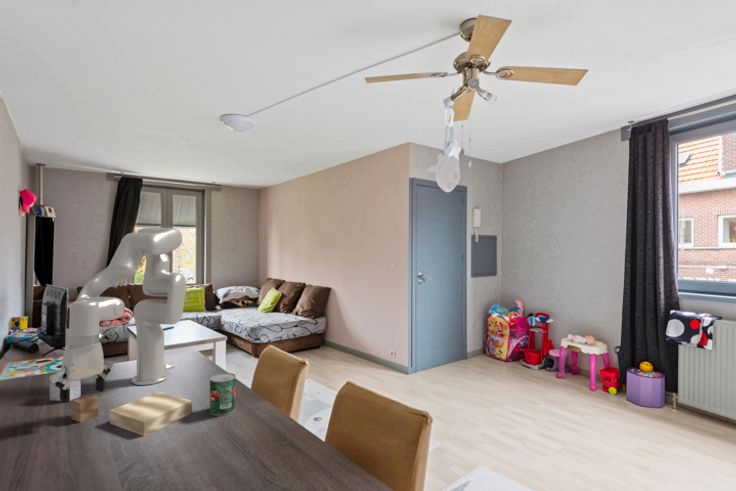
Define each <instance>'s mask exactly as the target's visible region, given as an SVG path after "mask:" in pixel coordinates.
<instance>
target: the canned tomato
mask: <svg viewBox="0 0 736 491" xmlns="http://www.w3.org/2000/svg"><path fill="white" fill-rule="evenodd" d="M236 380H237V379H236V374H235V373H231V372H223V373H217V374H214V375H211V377H209V414H210V415H212V416H215V417H221V416H222V417H223V416H226V415H230V414H232V413H233V412H235V410H236V389H237V388H236V382H237V381H236Z"/></svg>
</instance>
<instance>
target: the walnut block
mask: <svg viewBox="0 0 736 491" xmlns="http://www.w3.org/2000/svg"><path fill="white" fill-rule="evenodd" d="M96 417H99V396H96V395H93V394H90V393H88V394H86V395H85V394H84V395H81V396H80V397H79V398H76V399H73V400H71V401H70V419H71V420H73V421H75V422H78V423H83V422H86V421H89V420H91V419H94V418H96Z"/></svg>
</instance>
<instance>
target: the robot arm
mask: <svg viewBox="0 0 736 491" xmlns="http://www.w3.org/2000/svg"><path fill="white" fill-rule="evenodd" d="M182 243H183V234H182V232H181V231H180V230H179V229H177V228H176V227H144V228H143V227H142V228H140V229H138V230H137V231H136V232H130V233H127V234H126V235H124V236H123V237H122V238H121V241H120V243H119V244H118V247H117V249H116V250H115V253H114V255H113V257H112V258H111V260H110V263H109V265H108V266H107V267H106V268H104V269H103V270H101V271H100V272H98V273H96V275H94V276H93V277H92V278H91V279H89V280H88V281H87V282H86V283H85V284H84V286H83V287H82V289H81V290H80V292H79V294H78V296H77V298H76V300H75V301H73V302H71V303H70V306H69V323H68V324H69V325H68V326H69V327H68V330H69V333H68V346H66V347H65V349H64V352H63V356H62V361H61V367H60V369H59V370H58V371H56V372H55V373H54V374H53V373H52V374H51V375H52V376H51V375H50V376H49V377H50V379H49V380H51V381H52V383H53V385H55V386H57V387H58V388H60V400H61V401H60V402H62V403H64V404H67V403H69V402H70V401H69V398H70V389H68V387H69V385H70V384H71V383H72V381H76V380H80V379H81V380H83V379H87V378H90V377H95V376H97V377H96V378H95V391H97V392H99V393H100V392H101V393H103V392H104V391H105V390H104V389H105V384H106V383H105V382H106V378H107V376H108V375H109V373H110V372H111V369H112V368H113V365H114V363H115V362H114V361H110V360H107V359H104V351H103V345H102V342H100V339H102V338H104V334H103V333H100V322H103V321H105V322H106V321H114V320H117V319H119V318H120V317H121V316H122V315H124V312H125V309H126V306H125V303H124V301H123V300H122V299H120V298H118V297H113V296H101V295H102V294H103V293H104V291H106V290H107V289H109V288H110V287H112V286H114V285H118V284H121V283H123V282H125V281H127V280H130V279H132V278H134V277H135V275H136V274H137V271H138V269H139V267H140V264H141V262H142V260H143V258H144V257H145V269H144V274H143V278H142V279H143V281H142V292H143V294H144V295H146V296H151V297H166V298H167V299H156V298H155V299H150V298H148V299H143V300H140V301H139V302H137V303H136V304H135V306H134V308H133V318H134V322H135V324H134V325H135V330H136V375H135V376H134V377H132V378H131V383H132V384H133V385H137V386H147V385H148V386H149V385H154V384H158V383H161V382H164V381H166V380H168V378H169V373H168V372H169V370H173V369H175V368H176V364H175V363H172V364H167V363H166V364H165V332H164V329H163V327H162V325H176V324H178V323H179V322H180V321H181V319H182V317H183V313H184V306H185V299H186V292H187V281H186V278H185V276H184V275H183V274H182V273H179V272H170V265H171V260H170V256H169V255H168V253H169V252H172V251H175V250H177V249H178V248H179V247H181V245H182ZM104 365H105V366H104ZM104 367H105V368H104ZM60 376H61V378H62V379H63V380H62V381H61V382H60V381H59V380H58V378H59V377H60Z"/></svg>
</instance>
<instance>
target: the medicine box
mask: <svg viewBox="0 0 736 491" xmlns="http://www.w3.org/2000/svg"><path fill="white" fill-rule="evenodd" d="M52 375H53V374H51V375H50V376H52ZM50 376H49V380H48V382H49V401H58V402H62V401H61V400H60V388H58V387H57V386H55V385H53V383H52V381H51V380H50ZM58 380H59V381H60V382H61V381H62V380H63V379H62V378H61V376H60V377H59V378H58ZM81 380H82V379H80V380H76V381H72V383H71V384H70V385H69V387H68V389H70V398H69V402H71V400H73V399H76V398H79V397H82V395H81V394H82V393H81V392H82V390H81V388H82V387H81Z"/></svg>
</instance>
